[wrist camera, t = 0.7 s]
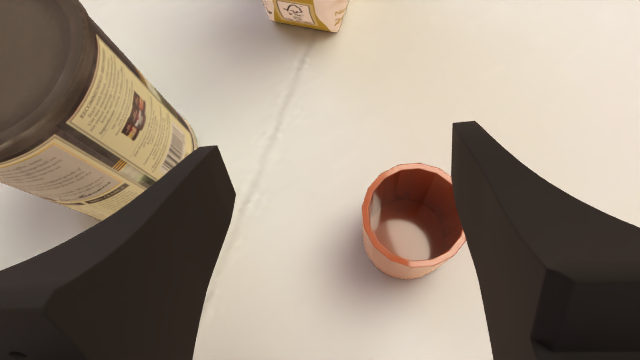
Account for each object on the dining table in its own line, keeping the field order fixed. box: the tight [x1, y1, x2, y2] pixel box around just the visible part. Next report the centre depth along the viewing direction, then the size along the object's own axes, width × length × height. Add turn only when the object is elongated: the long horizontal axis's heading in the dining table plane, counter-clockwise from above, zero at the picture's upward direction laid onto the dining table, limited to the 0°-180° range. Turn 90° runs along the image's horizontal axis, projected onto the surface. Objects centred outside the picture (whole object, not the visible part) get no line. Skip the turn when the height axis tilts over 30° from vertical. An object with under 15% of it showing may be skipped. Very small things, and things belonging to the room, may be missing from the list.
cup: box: [362, 163, 466, 279], centre depth 26 cm, size 6×6×7 cm
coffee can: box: [0, 0, 197, 221], centre depth 27 cm, size 10×10×14 cm
